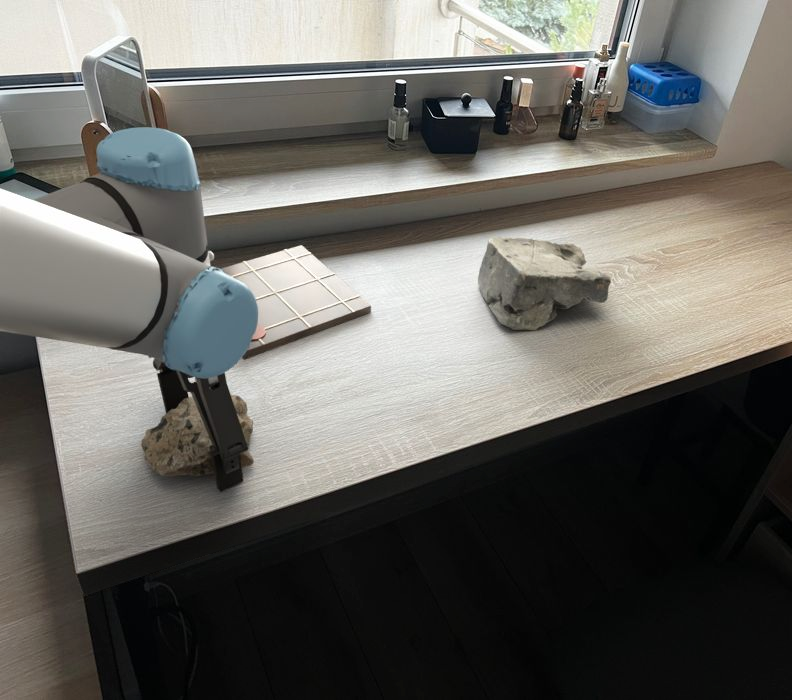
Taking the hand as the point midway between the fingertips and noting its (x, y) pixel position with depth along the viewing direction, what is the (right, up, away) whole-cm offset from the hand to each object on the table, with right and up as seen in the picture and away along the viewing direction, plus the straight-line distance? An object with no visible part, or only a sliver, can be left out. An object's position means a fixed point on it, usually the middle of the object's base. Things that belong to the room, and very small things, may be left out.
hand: (203, 447), depth 82 cm
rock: (0, 0, 0) cm, 0 cm away
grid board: (+2, +18, +24) cm, 30 cm away
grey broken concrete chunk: (+41, +19, +31) cm, 55 cm away
